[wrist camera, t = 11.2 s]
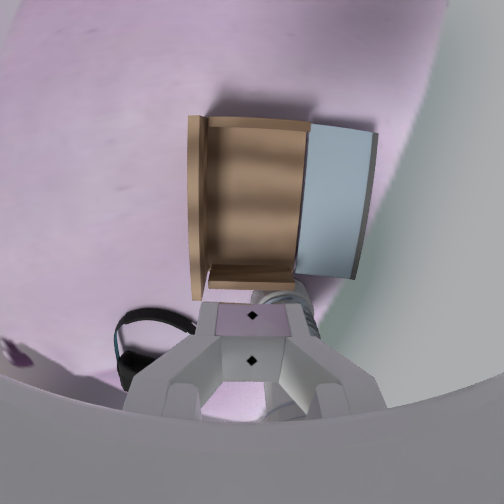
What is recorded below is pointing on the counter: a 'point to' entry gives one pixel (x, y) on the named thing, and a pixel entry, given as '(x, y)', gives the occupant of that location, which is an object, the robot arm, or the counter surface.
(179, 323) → the virtual reality headset
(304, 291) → the canister
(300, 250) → the panel
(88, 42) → the counter surface
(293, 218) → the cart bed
